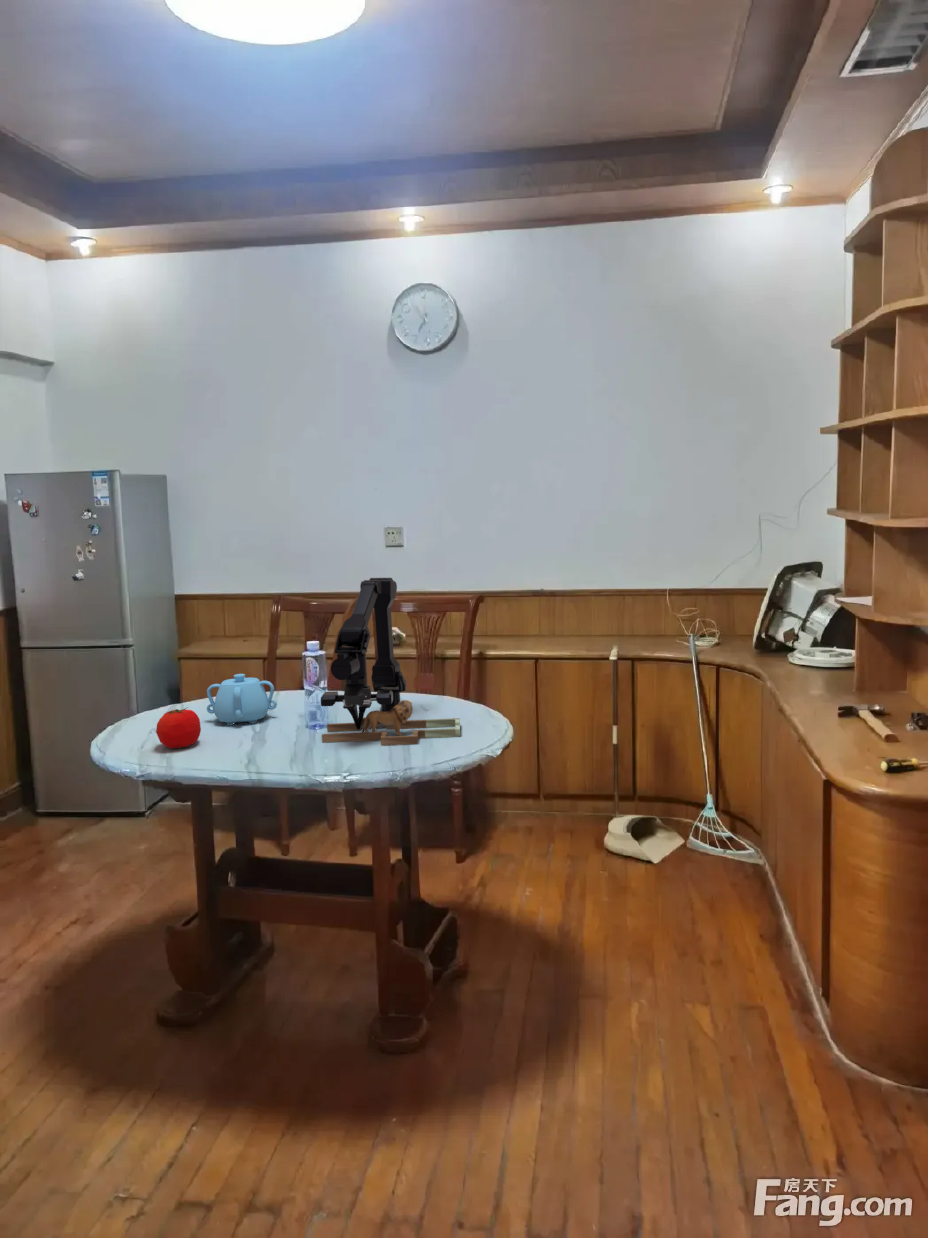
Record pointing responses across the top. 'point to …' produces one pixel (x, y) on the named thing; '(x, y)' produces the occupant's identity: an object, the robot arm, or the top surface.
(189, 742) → the tomato
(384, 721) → the lion figurine
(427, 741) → the top surface
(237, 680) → the decorative pot
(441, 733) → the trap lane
